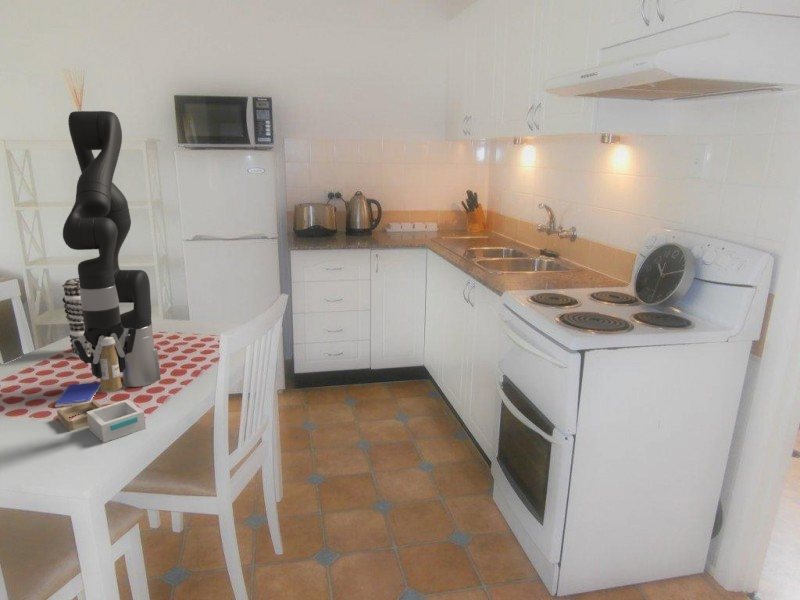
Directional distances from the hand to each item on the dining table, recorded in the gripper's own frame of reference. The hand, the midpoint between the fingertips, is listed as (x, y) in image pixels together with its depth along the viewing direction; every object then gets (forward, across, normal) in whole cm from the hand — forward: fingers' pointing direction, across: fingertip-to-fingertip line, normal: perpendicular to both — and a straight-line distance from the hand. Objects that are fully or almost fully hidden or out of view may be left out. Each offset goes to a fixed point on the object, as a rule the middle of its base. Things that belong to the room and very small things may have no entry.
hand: (109, 373), depth 131 cm
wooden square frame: (+14, +4, -11) cm, 19 cm away
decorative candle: (+14, -13, -60) cm, 62 cm away
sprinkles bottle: (+4, 0, 0) cm, 4 cm away
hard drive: (+15, 0, -26) cm, 30 cm away
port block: (+14, 0, 0) cm, 14 cm away
